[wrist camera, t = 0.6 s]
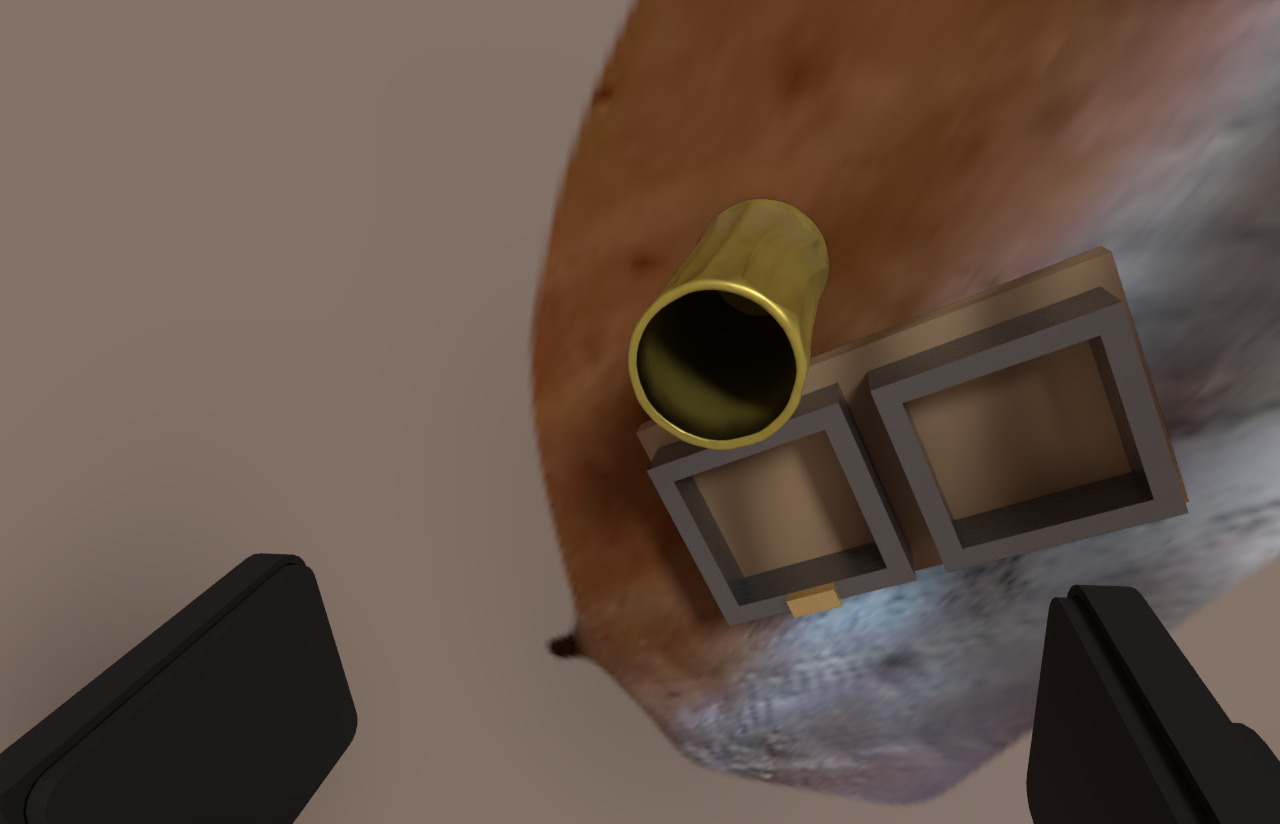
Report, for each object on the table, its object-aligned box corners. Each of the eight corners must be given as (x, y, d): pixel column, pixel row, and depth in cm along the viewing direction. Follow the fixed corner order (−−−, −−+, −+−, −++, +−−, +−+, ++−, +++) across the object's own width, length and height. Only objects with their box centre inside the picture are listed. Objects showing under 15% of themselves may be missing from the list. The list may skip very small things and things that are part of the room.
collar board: (1101, 246, 30) (1111, 251, 29) (1177, 488, 33) (1189, 501, 32) (641, 423, 38) (635, 432, 37) (735, 603, 41) (732, 616, 40)
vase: (805, 345, 34) (787, 489, 22) (682, 311, 35) (595, 431, 22) (846, 217, 32) (854, 296, 19) (712, 184, 32) (633, 238, 20)
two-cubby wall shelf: (1100, 286, 29) (1128, 305, 26) (1163, 483, 32) (1194, 520, 29) (657, 448, 37) (643, 476, 34) (735, 596, 39) (727, 633, 37)
